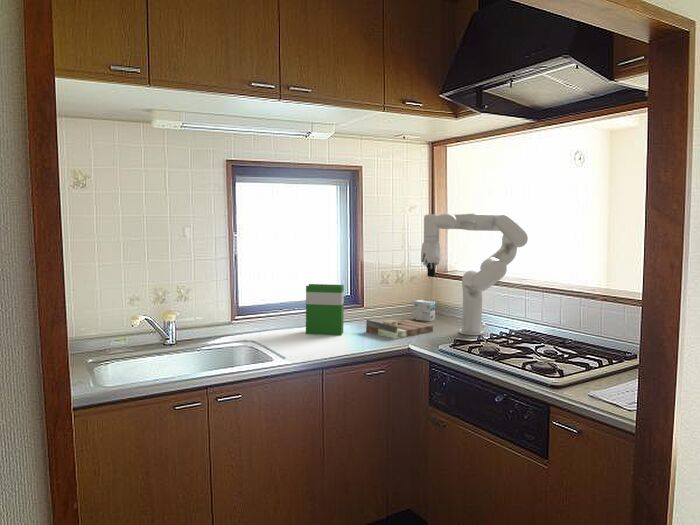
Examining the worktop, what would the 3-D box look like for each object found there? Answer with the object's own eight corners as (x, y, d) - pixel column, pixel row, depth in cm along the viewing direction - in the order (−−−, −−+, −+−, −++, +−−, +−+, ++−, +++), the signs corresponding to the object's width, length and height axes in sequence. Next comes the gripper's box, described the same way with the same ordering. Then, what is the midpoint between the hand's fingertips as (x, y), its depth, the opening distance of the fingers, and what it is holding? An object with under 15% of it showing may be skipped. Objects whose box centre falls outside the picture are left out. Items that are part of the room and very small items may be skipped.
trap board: (404, 324, 281) (404, 313, 281) (432, 331, 266) (433, 319, 266) (366, 331, 263) (366, 320, 262) (394, 339, 248) (395, 326, 248)
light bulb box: (435, 319, 297) (435, 301, 296) (430, 321, 291) (430, 302, 290) (418, 317, 302) (418, 299, 302) (413, 319, 297) (413, 300, 296)
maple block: (390, 327, 260) (390, 319, 259) (397, 329, 256) (397, 321, 255) (383, 328, 256) (383, 320, 256) (390, 330, 253) (390, 322, 252)
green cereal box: (305, 334, 257) (306, 285, 255) (308, 330, 264) (309, 284, 262) (341, 335, 255) (341, 286, 253) (343, 332, 262) (343, 284, 260)
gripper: (435, 238, 264) (434, 274, 266) (415, 239, 254) (415, 277, 256) (447, 239, 258) (446, 276, 260) (427, 240, 249) (426, 278, 250)
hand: (431, 276), depth 258 cm, fingers closed
